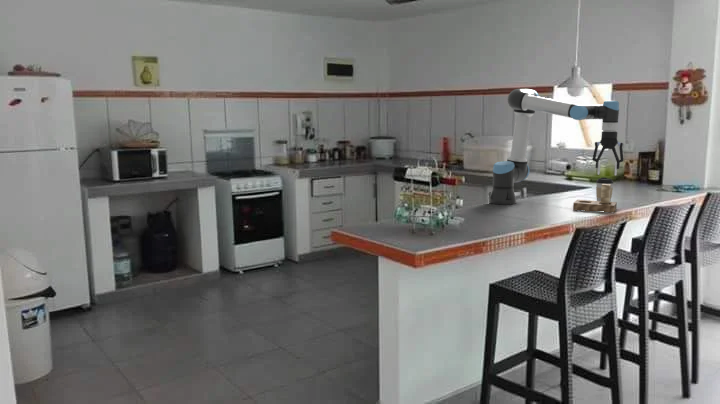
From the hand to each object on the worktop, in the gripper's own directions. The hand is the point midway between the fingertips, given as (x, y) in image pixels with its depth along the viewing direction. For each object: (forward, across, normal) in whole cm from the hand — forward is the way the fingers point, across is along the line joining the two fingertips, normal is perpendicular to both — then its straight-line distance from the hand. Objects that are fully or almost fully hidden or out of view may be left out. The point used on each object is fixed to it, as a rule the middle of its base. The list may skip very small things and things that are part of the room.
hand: (606, 174), depth 305 cm
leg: (+19, 0, 0) cm, 19 cm away
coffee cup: (+19, -3, +19) cm, 27 cm away
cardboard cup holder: (+19, -5, 0) cm, 20 cm away
